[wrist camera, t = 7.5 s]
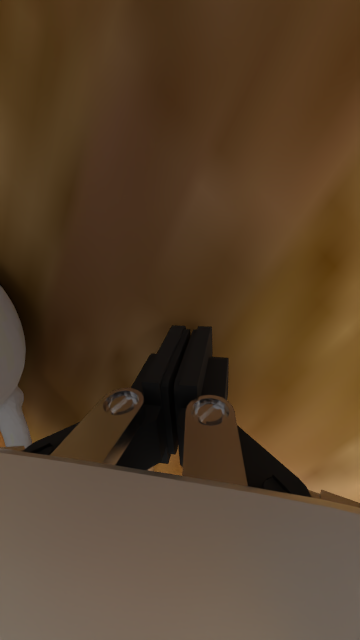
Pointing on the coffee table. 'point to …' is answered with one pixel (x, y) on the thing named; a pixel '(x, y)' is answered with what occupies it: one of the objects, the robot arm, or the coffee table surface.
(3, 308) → the teacup
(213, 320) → the coffee table surface
